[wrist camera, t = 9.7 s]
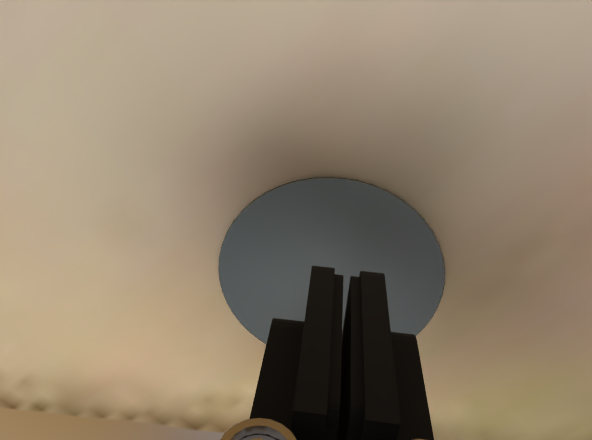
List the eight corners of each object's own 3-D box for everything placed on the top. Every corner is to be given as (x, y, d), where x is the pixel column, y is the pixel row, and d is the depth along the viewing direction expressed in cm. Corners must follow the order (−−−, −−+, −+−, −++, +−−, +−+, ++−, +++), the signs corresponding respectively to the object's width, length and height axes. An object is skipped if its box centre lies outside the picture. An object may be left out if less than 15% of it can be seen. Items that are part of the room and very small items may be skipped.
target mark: (482, 315, 29) (483, 317, 29) (297, 385, 34) (297, 387, 34) (373, 131, 24) (373, 132, 24) (174, 244, 29) (173, 246, 29)
